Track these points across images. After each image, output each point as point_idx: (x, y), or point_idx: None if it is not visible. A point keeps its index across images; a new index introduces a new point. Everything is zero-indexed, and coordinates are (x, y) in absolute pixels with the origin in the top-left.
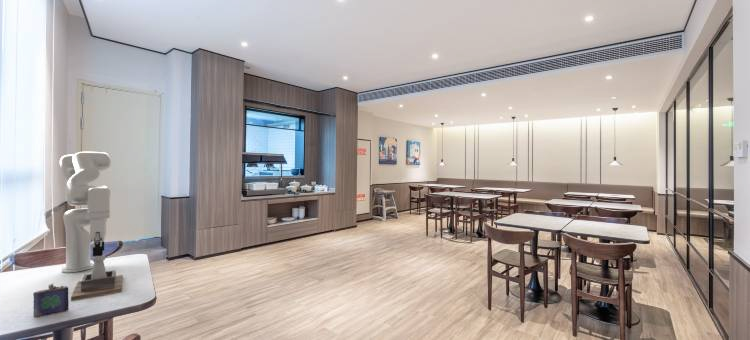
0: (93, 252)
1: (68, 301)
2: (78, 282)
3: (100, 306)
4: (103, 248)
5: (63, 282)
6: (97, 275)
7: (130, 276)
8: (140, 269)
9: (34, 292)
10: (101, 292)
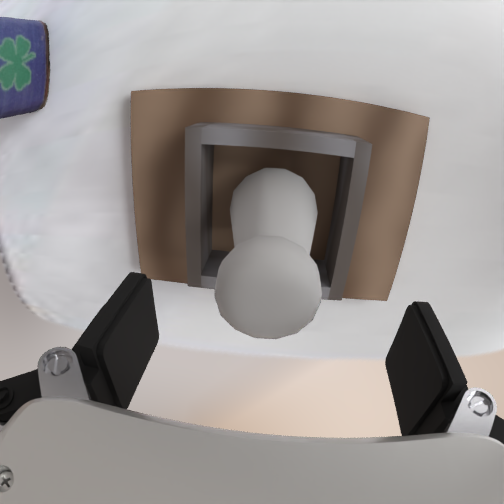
0: (110, 303)
1: (17, 114)
2: (405, 114)
3: (28, 203)
4: (389, 375)
5: (500, 75)
6: (232, 216)
7: (374, 316)
8: None
9: None
10: (136, 207)
